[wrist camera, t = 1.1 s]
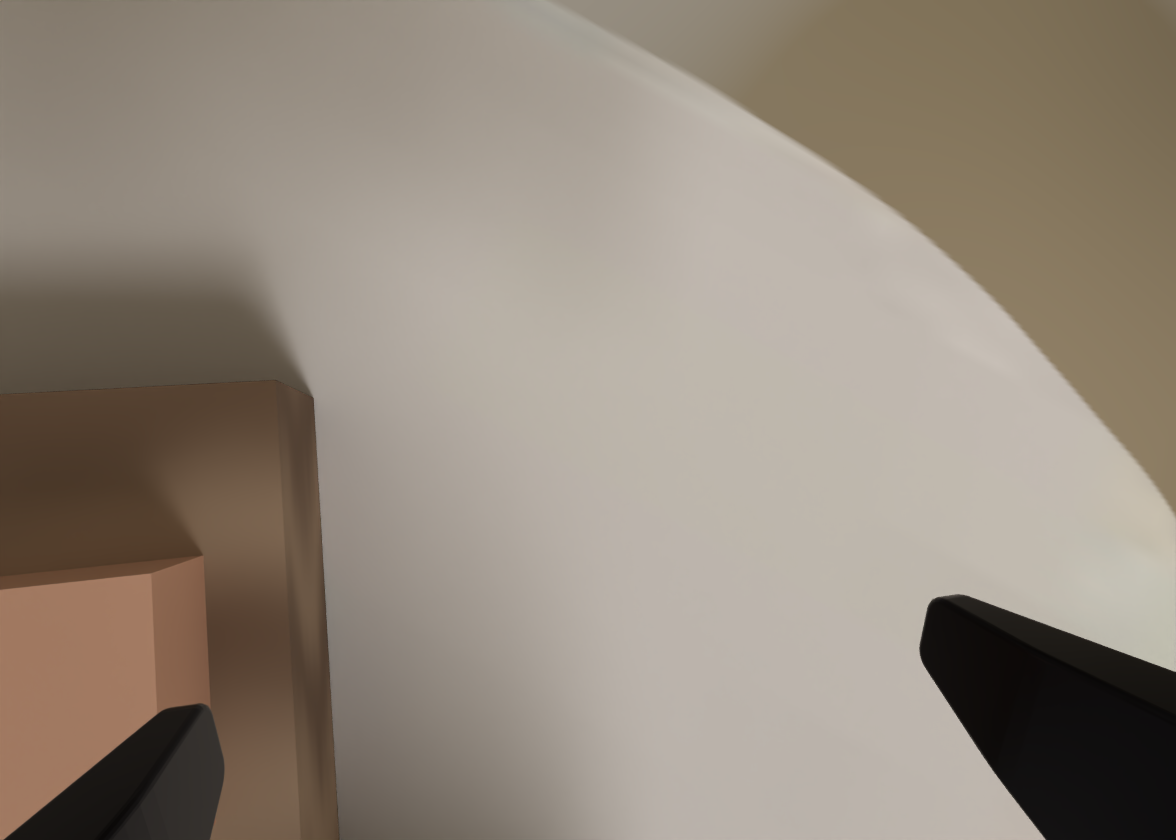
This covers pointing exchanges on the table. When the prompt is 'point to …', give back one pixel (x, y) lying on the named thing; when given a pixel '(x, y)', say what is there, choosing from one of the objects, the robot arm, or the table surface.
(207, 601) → the brown flat block
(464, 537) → the table surface
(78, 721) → the tile
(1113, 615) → the table surface
